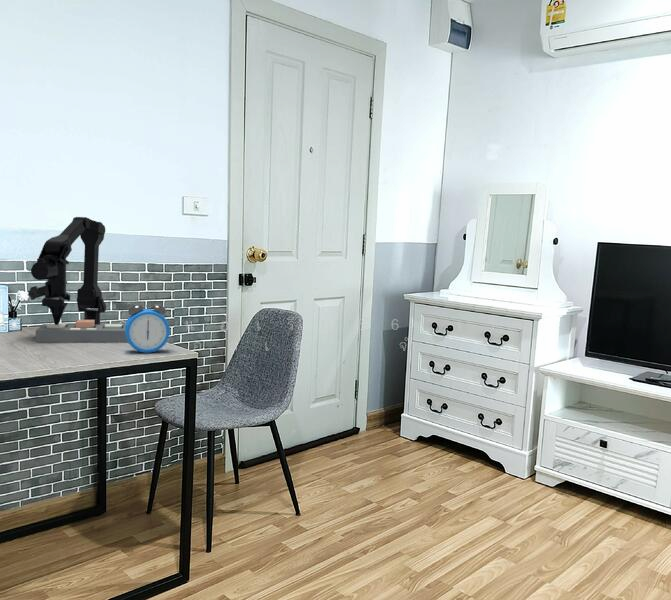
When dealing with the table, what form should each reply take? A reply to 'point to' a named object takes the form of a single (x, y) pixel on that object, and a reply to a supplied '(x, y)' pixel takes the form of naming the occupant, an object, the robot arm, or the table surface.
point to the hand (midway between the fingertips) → (56, 324)
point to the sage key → (113, 326)
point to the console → (81, 334)
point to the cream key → (56, 326)
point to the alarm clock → (147, 328)
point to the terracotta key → (85, 324)
